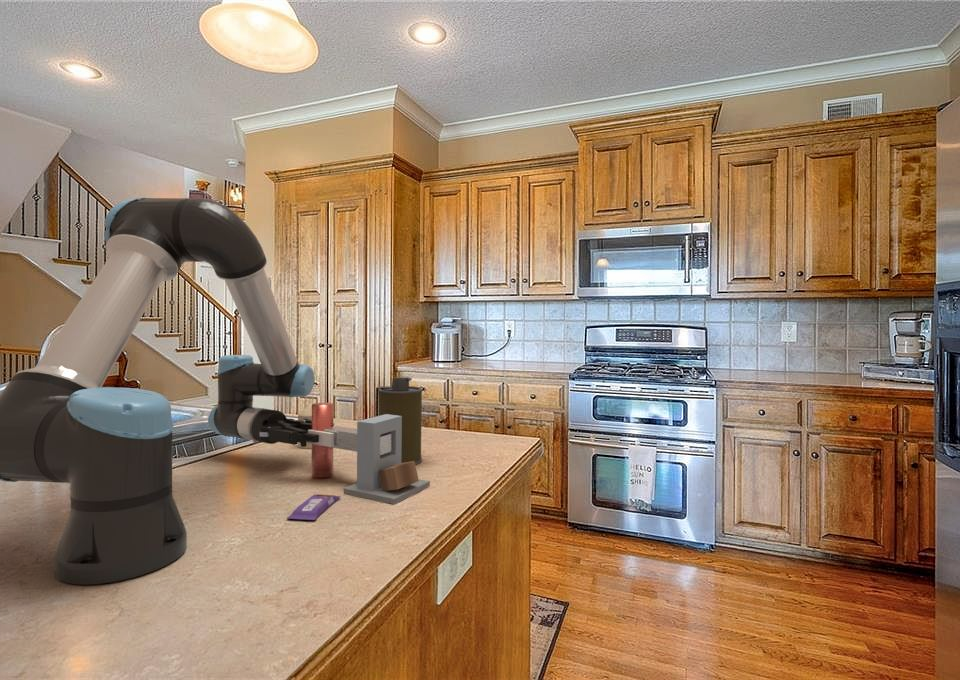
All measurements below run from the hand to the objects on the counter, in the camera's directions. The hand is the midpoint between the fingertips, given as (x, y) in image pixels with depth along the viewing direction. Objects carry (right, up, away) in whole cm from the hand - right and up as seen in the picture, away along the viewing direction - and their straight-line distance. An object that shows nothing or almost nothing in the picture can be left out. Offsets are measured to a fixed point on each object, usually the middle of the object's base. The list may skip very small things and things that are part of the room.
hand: (341, 437), depth 108 cm
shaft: (+2, -9, -1) cm, 9 cm away
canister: (+10, -9, +16) cm, 20 cm away
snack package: (0, -10, -16) cm, 19 cm away
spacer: (+12, -7, -6) cm, 15 cm away
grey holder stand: (+11, -9, -5) cm, 15 cm away
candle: (-16, -8, +29) cm, 34 cm away
